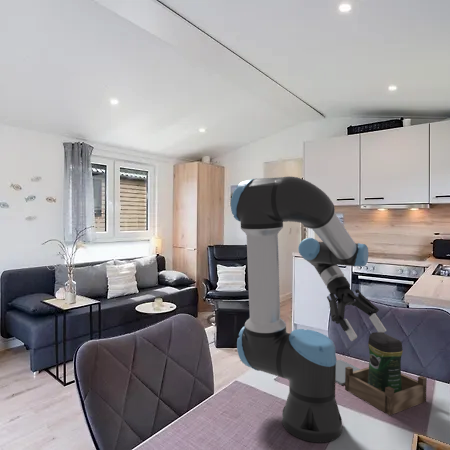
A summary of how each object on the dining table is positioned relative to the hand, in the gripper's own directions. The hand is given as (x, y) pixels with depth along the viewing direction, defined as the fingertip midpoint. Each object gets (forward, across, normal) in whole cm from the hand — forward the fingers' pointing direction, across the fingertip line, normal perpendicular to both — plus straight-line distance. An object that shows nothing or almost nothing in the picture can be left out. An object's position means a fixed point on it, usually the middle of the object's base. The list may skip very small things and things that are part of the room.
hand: (369, 336), depth 111 cm
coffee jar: (+16, +1, -6) cm, 18 cm away
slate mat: (+4, +1, -19) cm, 19 cm away
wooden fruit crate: (+16, +1, -6) cm, 17 cm away
